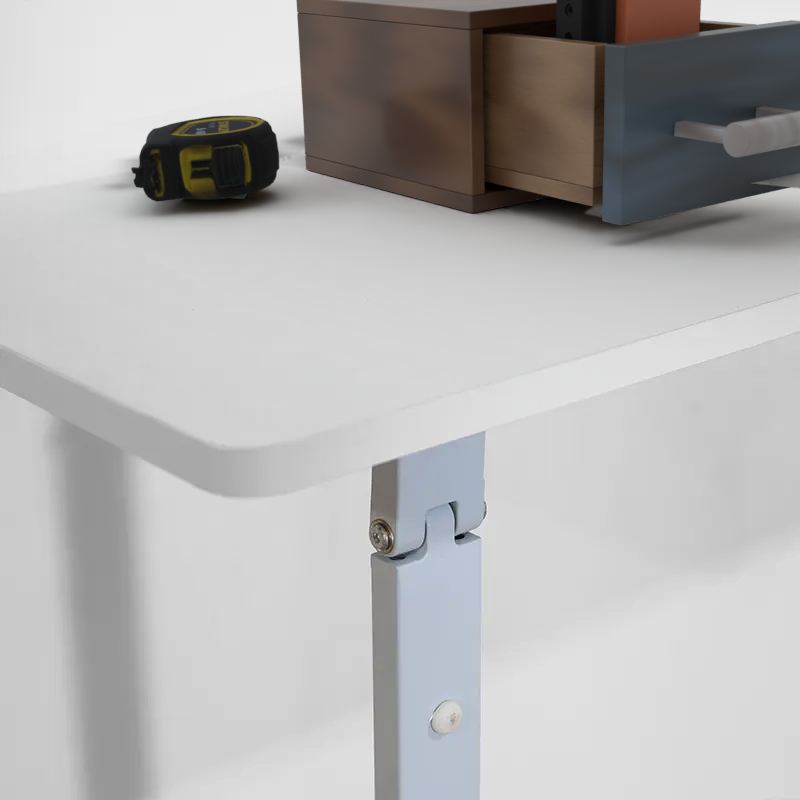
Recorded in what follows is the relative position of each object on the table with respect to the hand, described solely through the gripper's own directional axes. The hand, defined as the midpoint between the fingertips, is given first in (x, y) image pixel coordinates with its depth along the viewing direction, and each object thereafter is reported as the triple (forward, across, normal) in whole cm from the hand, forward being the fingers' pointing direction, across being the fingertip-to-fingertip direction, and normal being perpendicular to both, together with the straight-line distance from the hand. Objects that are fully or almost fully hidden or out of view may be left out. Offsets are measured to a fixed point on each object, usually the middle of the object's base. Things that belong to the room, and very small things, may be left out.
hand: (627, 67), depth 63 cm
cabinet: (+6, 0, +11) cm, 13 cm away
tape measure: (+7, -14, +15) cm, 22 cm away
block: (0, 0, 0) cm, 0 cm away
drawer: (+5, 0, -1) cm, 6 cm away
